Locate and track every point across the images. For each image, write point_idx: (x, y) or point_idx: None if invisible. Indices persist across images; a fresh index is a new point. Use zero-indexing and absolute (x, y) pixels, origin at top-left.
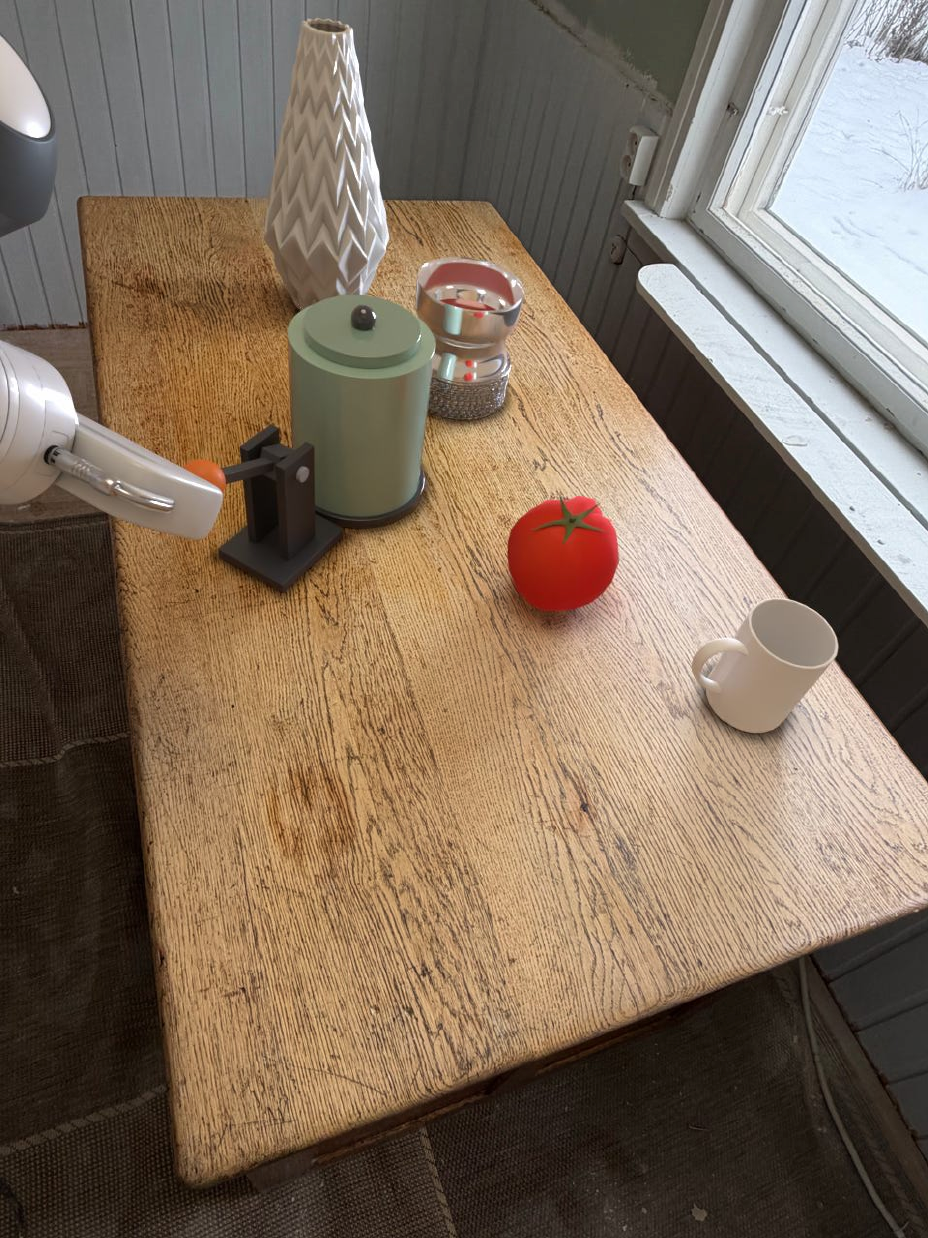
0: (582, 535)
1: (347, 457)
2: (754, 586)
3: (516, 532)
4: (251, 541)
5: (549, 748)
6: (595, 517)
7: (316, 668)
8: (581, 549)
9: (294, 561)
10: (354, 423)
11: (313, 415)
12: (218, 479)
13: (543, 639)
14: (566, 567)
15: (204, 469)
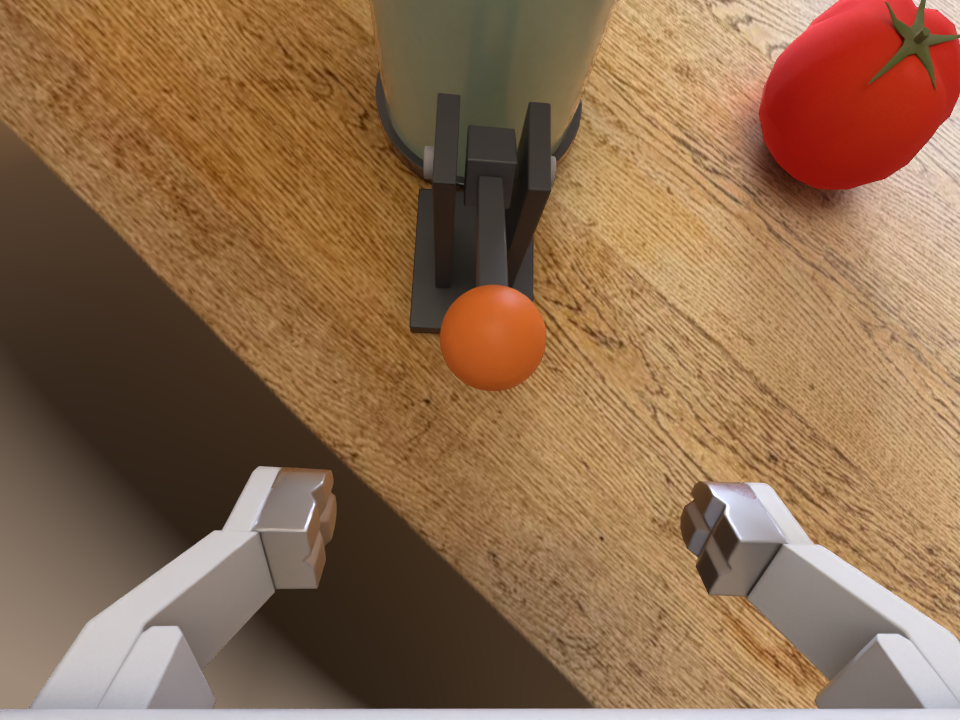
0: (940, 58)
1: (543, 87)
2: None
3: (815, 95)
4: (441, 288)
5: (934, 366)
6: (935, 15)
7: (647, 422)
8: (946, 83)
9: (517, 287)
10: (574, 12)
11: (484, 30)
12: (543, 326)
13: (836, 224)
14: (937, 124)
15: (518, 329)
